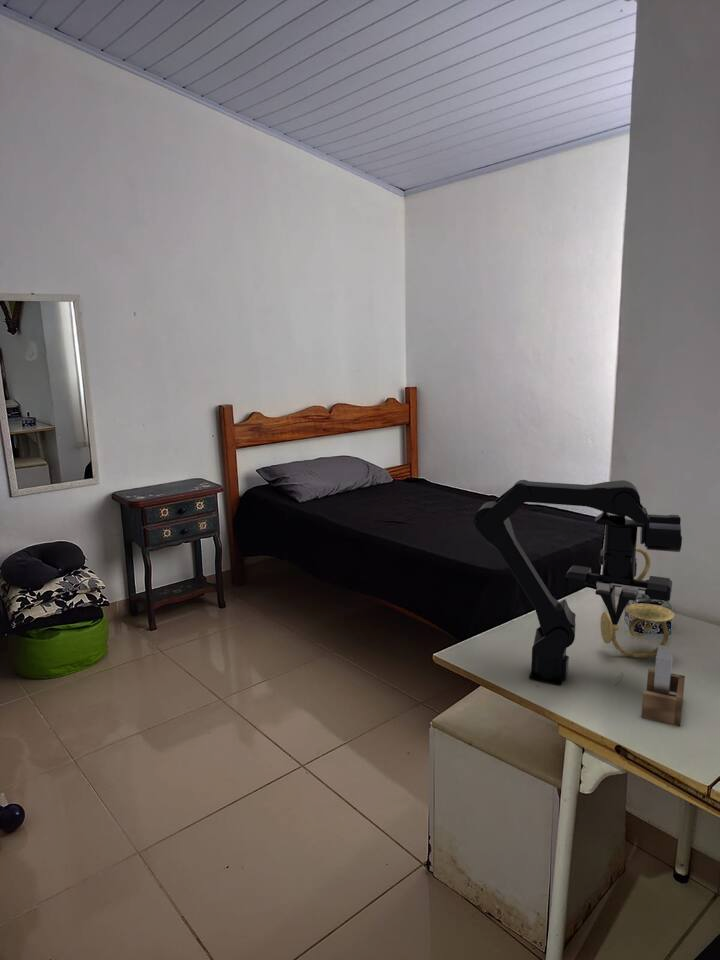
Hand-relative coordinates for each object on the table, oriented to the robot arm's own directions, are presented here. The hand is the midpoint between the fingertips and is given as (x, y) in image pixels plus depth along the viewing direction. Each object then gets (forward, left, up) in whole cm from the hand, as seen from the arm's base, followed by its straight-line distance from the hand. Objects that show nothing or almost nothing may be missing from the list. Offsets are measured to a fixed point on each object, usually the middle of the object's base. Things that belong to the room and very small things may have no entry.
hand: (615, 624), depth 125 cm
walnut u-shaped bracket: (+10, -5, -13) cm, 17 cm away
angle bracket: (+9, -5, -13) cm, 17 cm away
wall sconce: (+3, +15, -13) cm, 20 cm away
